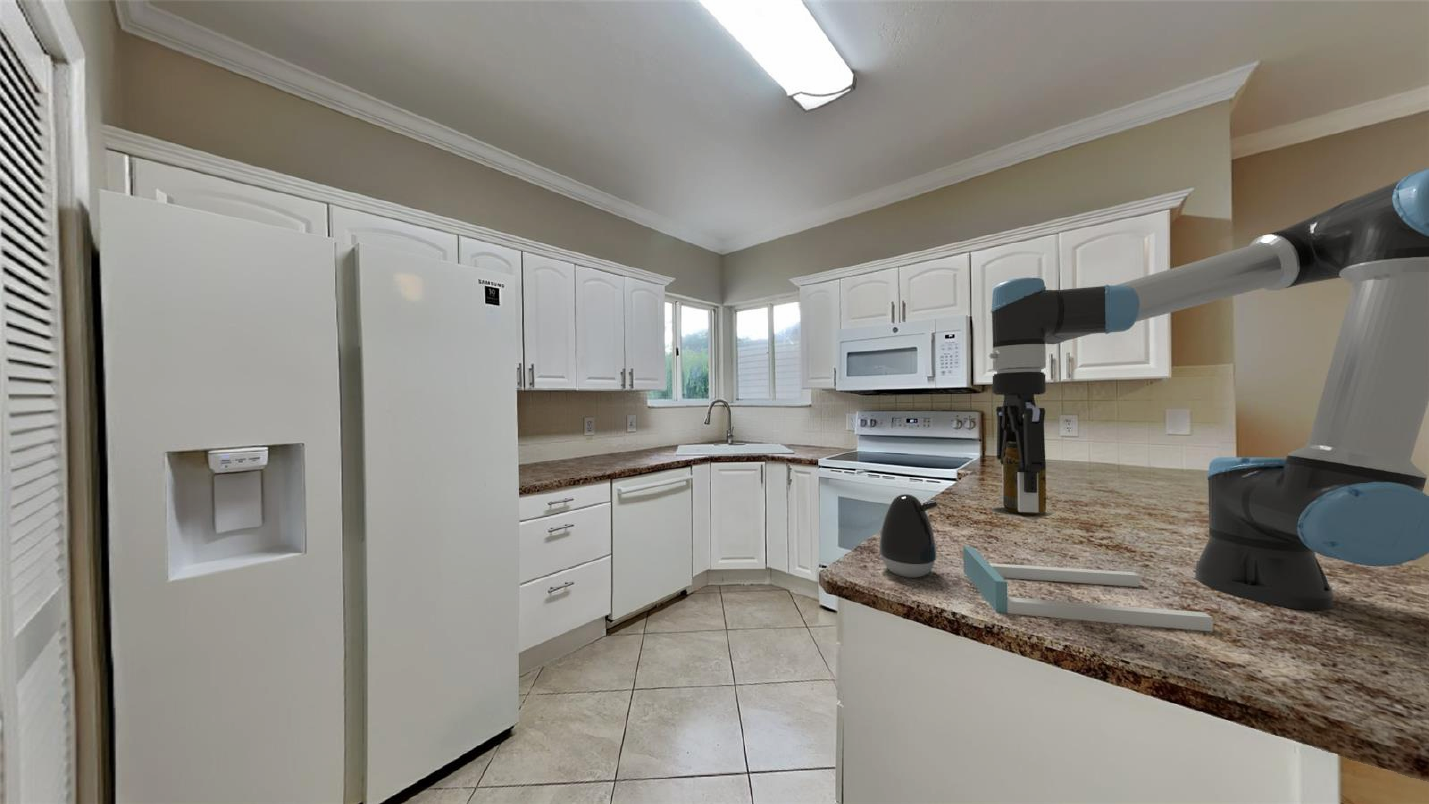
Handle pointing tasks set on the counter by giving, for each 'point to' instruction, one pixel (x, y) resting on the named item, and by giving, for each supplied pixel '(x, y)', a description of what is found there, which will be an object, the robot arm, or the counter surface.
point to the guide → (995, 593)
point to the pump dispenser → (908, 537)
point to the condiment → (1012, 487)
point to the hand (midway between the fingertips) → (1019, 506)
